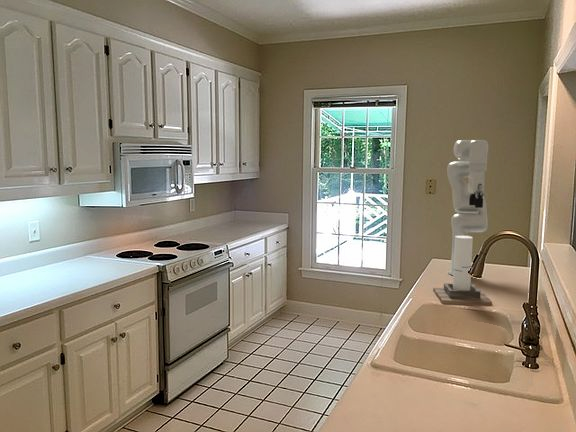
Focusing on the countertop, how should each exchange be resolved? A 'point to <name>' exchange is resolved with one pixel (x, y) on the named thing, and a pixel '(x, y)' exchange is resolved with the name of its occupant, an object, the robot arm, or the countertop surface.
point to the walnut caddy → (461, 296)
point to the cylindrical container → (462, 263)
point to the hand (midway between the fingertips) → (475, 206)
